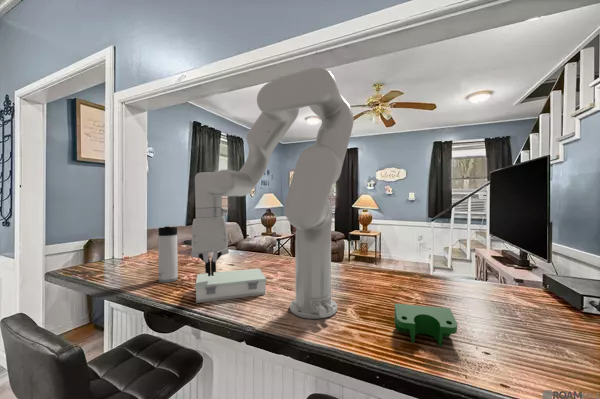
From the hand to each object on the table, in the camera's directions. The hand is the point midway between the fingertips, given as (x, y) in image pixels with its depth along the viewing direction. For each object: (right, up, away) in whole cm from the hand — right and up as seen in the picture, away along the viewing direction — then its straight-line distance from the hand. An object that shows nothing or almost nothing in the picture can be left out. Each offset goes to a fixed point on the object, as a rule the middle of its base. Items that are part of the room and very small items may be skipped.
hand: (210, 274), depth 77 cm
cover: (+5, -3, +5) cm, 7 cm away
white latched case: (+5, -7, +5) cm, 10 cm away
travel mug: (-22, -7, +17) cm, 29 cm away
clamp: (+53, -7, -23) cm, 58 cm away
